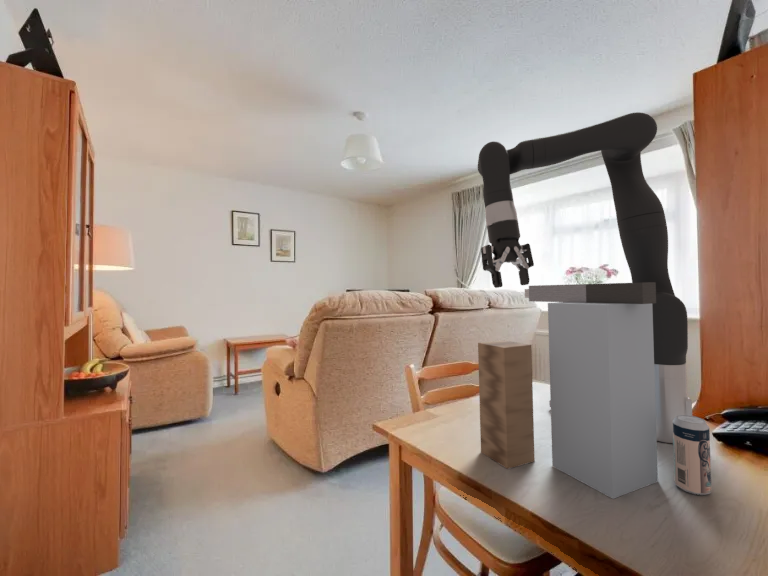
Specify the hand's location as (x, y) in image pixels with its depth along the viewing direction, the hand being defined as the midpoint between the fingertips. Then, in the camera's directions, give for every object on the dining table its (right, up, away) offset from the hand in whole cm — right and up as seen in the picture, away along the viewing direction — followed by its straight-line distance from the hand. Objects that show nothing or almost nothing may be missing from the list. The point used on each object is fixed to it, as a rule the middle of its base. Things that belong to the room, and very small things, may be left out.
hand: (511, 286), depth 88 cm
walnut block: (-6, -36, -14) cm, 39 cm away
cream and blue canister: (+21, -35, -27) cm, 49 cm away
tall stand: (+9, -35, -22) cm, 42 cm away
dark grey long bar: (+7, -3, -19) cm, 20 cm away
